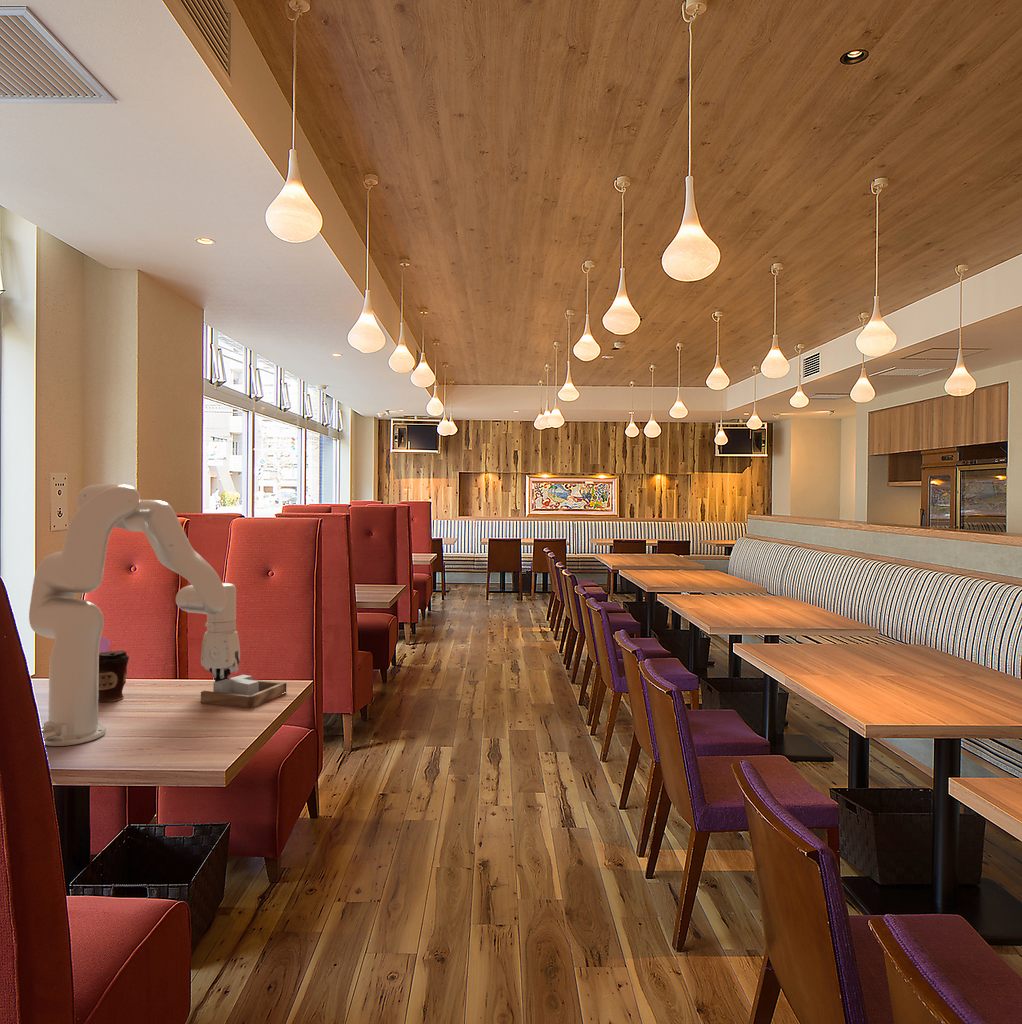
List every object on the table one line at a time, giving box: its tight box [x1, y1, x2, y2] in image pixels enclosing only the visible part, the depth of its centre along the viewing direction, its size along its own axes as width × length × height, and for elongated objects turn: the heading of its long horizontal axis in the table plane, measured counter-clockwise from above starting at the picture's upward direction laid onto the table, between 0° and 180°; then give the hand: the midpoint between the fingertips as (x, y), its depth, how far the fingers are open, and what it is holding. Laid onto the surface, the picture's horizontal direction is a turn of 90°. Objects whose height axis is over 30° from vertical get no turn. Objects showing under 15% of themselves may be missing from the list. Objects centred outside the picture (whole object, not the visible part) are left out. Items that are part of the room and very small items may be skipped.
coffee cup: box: [98, 650, 130, 703], centre depth 180 cm, size 9×8×13 cm
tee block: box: [212, 674, 259, 695], centre depth 182 cm, size 10×10×5 cm
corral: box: [200, 679, 287, 709], centre depth 183 cm, size 15×16×3 cm
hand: (221, 691), depth 185 cm, fingers closed
